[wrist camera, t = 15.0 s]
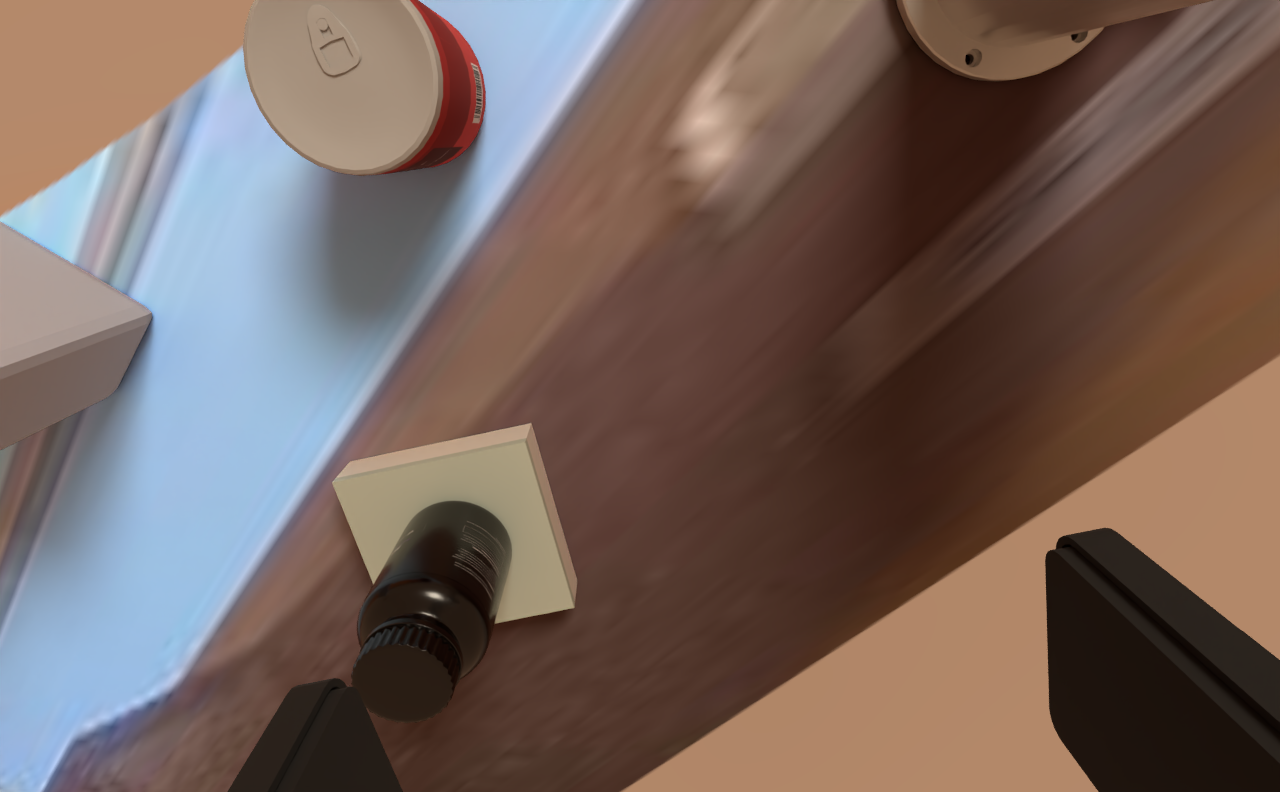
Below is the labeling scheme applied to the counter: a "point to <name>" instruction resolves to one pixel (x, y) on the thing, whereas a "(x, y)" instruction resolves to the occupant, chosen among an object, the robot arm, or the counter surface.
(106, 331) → the soap bottle
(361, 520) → the plate
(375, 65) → the canned food
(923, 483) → the counter surface
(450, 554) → the supplement bottle
